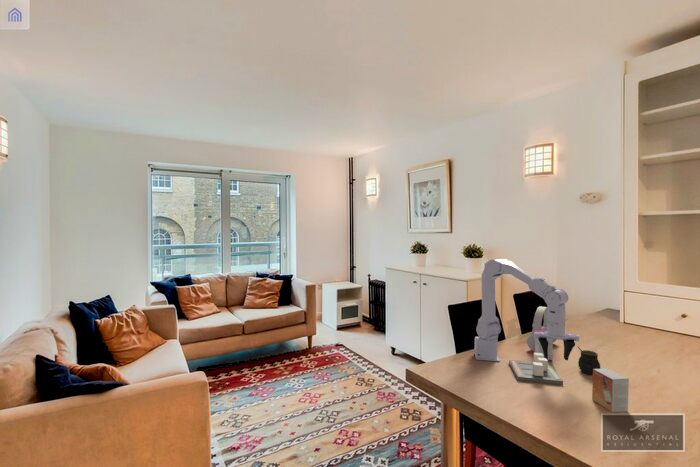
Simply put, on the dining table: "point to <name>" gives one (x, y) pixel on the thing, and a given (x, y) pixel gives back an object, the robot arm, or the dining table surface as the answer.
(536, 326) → the headphones
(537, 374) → the block
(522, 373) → the breaker panel
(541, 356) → the handle
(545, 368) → the handle
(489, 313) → the robot arm
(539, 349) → the supplement box
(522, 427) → the dining table surface
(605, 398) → the small box
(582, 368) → the mate gourd
